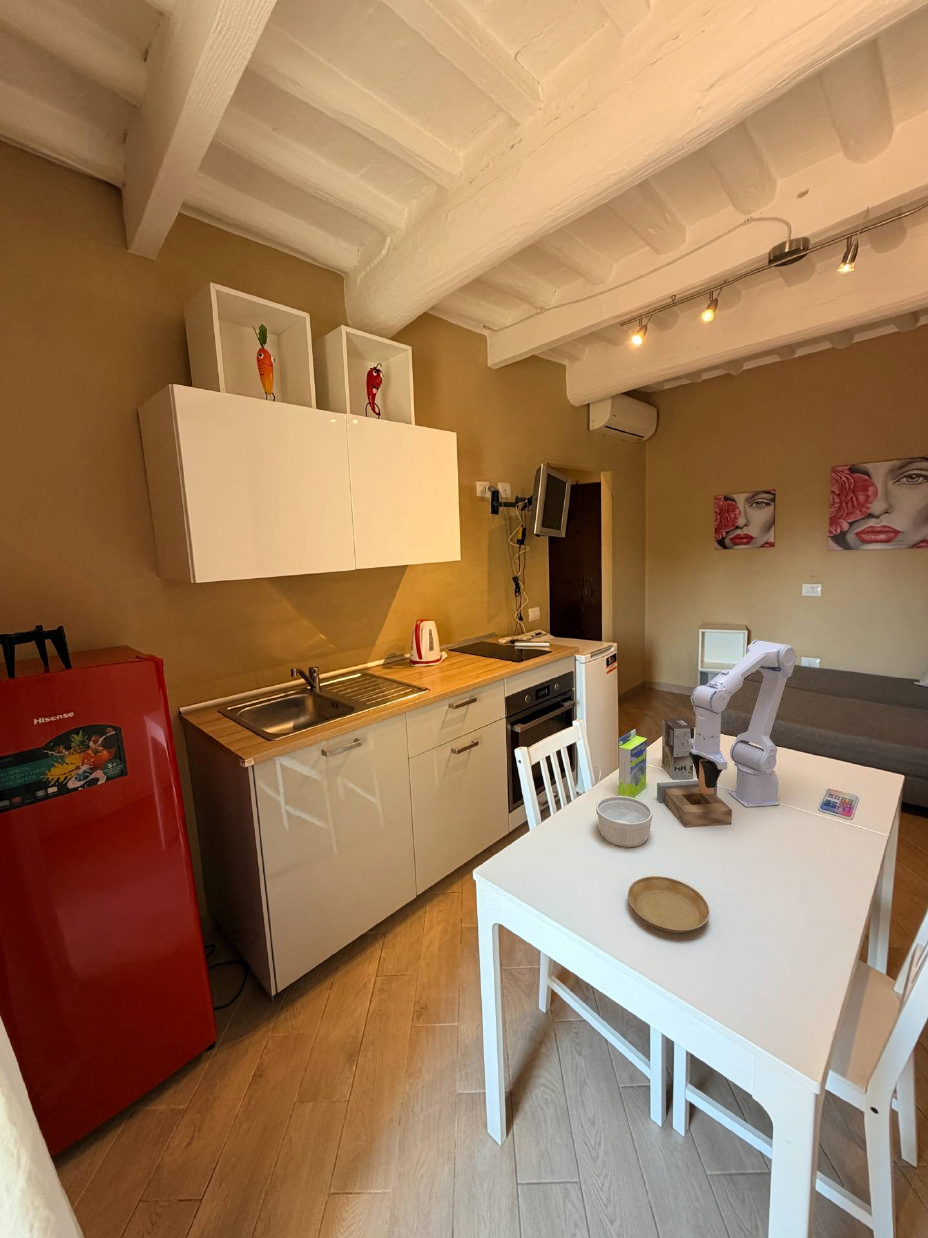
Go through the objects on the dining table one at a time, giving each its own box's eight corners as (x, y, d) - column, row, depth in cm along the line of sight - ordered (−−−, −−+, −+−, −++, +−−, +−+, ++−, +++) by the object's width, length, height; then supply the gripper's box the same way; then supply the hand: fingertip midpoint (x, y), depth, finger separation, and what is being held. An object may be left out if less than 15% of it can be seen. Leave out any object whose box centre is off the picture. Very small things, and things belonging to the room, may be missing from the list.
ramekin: (586, 837, 122) (586, 811, 121) (611, 814, 131) (611, 790, 130) (638, 858, 113) (638, 830, 112) (660, 832, 122) (661, 806, 121)
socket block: (706, 800, 136) (706, 786, 135) (731, 824, 124) (731, 809, 124) (663, 802, 136) (663, 789, 135) (684, 827, 124) (685, 812, 123)
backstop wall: (712, 796, 138) (713, 779, 137) (716, 799, 136) (717, 782, 135) (656, 799, 138) (657, 782, 137) (660, 803, 136) (660, 786, 135)
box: (630, 801, 137) (631, 742, 135) (617, 796, 140) (617, 739, 138) (647, 787, 144) (648, 731, 142) (634, 783, 147) (634, 728, 145)
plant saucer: (612, 909, 98) (612, 898, 97) (653, 877, 107) (653, 866, 106) (683, 956, 86) (684, 943, 86) (723, 916, 95) (723, 903, 95)
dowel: (709, 787, 128) (710, 758, 127) (716, 794, 125) (717, 764, 124) (696, 787, 129) (697, 758, 127) (702, 794, 125) (703, 764, 124)
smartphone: (860, 795, 134) (852, 819, 123) (859, 799, 134) (852, 822, 124) (826, 787, 139) (817, 808, 129) (826, 790, 139) (816, 812, 129)
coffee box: (694, 779, 148) (695, 728, 146) (672, 779, 148) (673, 728, 146) (681, 765, 157) (682, 717, 155) (661, 766, 157) (661, 718, 155)
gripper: (678, 723, 131) (677, 771, 133) (708, 745, 117) (706, 798, 119) (704, 722, 132) (702, 770, 134) (736, 743, 117) (734, 796, 119)
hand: (706, 783), depth 127 cm, fingers closed on dowel, 3 cm apart
